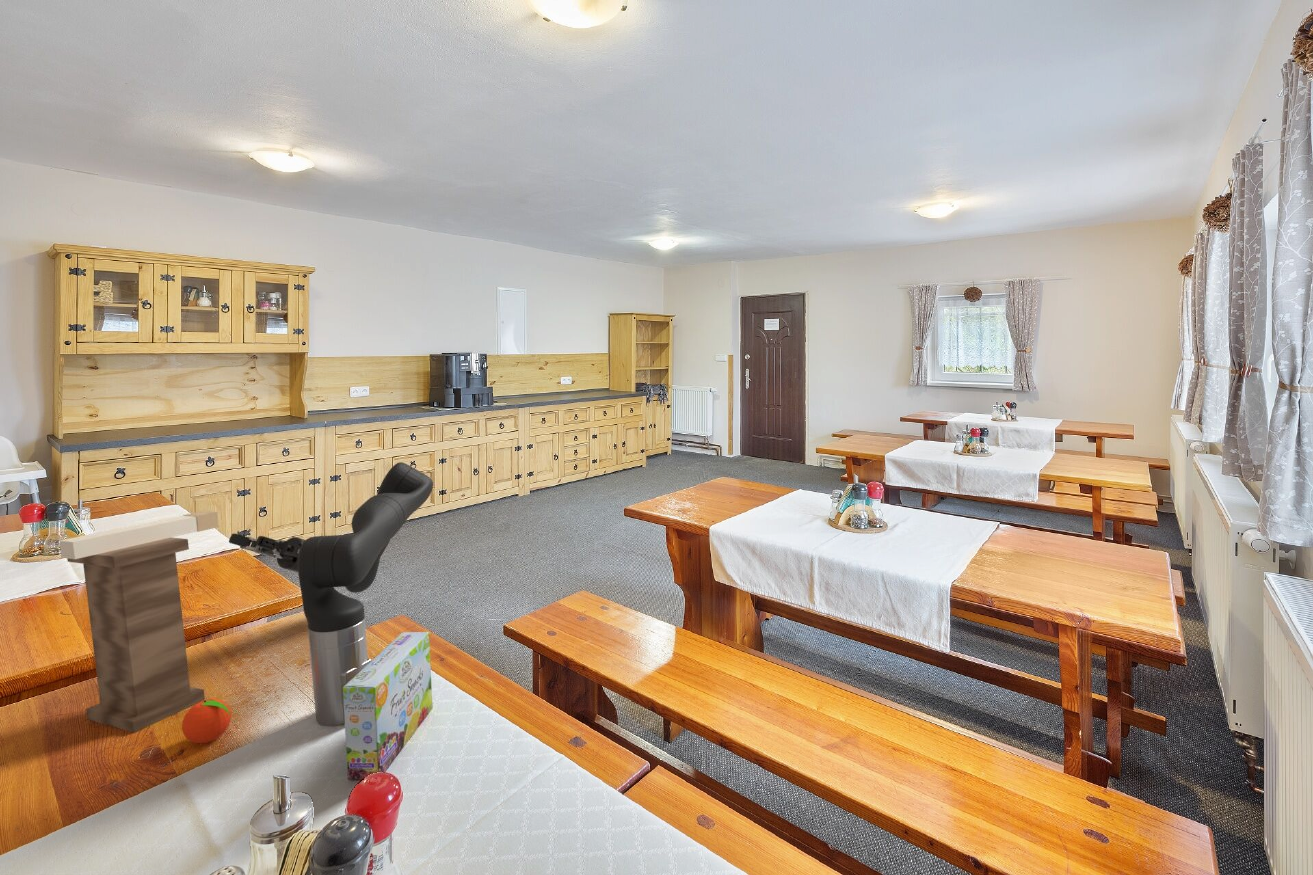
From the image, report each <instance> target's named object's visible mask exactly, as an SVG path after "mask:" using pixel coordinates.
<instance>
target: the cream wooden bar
mask: <svg viewBox="0 0 1313 875" xmlns="http://www.w3.org/2000/svg"><path fill="white" fill-rule="evenodd" d="M216 528H217V529H218V528H219V517H218V511H210V510H202V511H196V512H192V513H186V514H183V515H179V516H175V517H170V518H163V519H160V520H154V521H150V522H149V521H148V522H145V523H140V524H134V525H130V526H125V527H120V528H115V529H110V530H104V531H100V532H96V533H92V534H85V535H81V536H75V537H69V538H66V539H61V540H59V548H60V557H61V559H62V558H63V559H67V558H69V559H79V558H83V557H87V556H92V555H96V554H101V553H105V552H109V551H114V550H118V549H122V548H127V547H131V546H136V545H140V544H144V543H149V542H153V541H157V540H162V539H166V538H171V537H172V538H176V537H179V536H183V535H188V534H191V533H197V532H199V533H200V532H202V531H207V530H211V529H212V530H213V529H216Z"/></svg>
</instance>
